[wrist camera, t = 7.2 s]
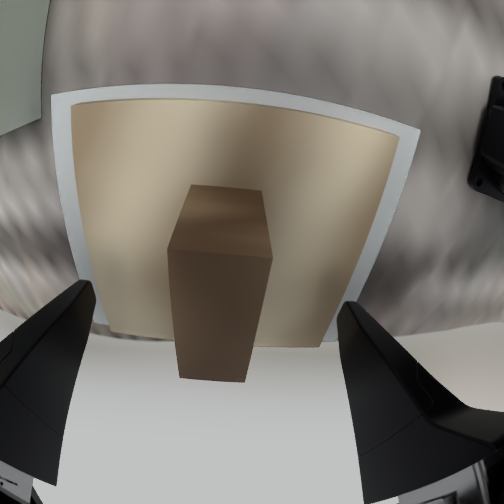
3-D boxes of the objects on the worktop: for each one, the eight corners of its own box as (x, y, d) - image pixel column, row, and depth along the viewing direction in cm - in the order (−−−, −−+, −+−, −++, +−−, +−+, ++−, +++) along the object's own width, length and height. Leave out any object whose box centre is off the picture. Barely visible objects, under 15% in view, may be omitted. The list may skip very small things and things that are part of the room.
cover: (390, 132, 9) (468, 178, 6) (316, 336, 16) (332, 407, 12) (81, 102, 8) (-3, 134, 4) (114, 321, 15) (92, 391, 11)
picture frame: (414, 127, 10) (420, 130, 9) (333, 335, 17) (335, 341, 17) (57, 93, 8) (51, 94, 8) (96, 317, 16) (94, 322, 15)
